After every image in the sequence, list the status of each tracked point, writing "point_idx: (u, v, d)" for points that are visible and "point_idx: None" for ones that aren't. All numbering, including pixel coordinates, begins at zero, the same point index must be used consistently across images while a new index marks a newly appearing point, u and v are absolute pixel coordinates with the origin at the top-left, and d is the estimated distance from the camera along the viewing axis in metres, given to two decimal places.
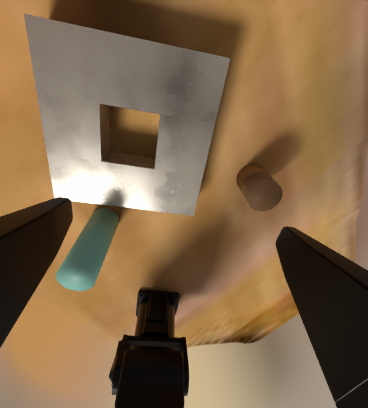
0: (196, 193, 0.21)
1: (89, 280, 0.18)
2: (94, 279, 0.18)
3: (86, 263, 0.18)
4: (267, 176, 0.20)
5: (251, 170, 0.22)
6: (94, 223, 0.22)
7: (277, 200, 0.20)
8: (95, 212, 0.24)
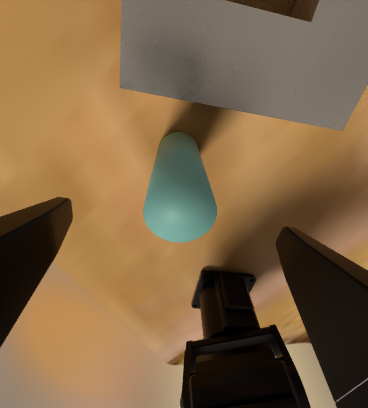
0: (364, 82, 0.12)
1: (205, 218, 0.09)
2: (215, 216, 0.09)
3: (203, 182, 0.09)
4: None
5: None
6: (178, 142, 0.13)
7: None
8: (168, 136, 0.16)
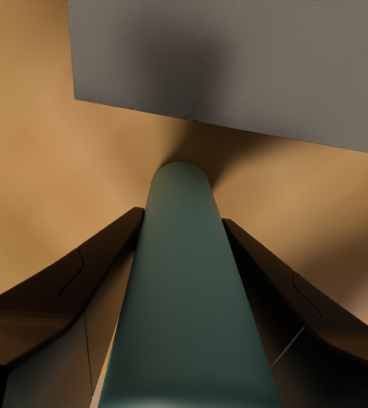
0: None
1: None
2: None
3: (247, 343, 0.04)
4: None
5: None
6: (182, 189, 0.08)
7: None
8: (165, 169, 0.10)
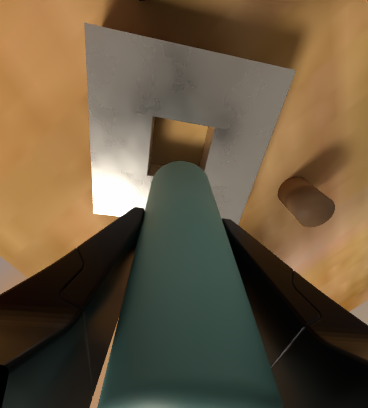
0: (241, 208, 0.20)
1: None
2: None
3: (248, 344, 0.04)
4: (318, 191, 0.19)
5: (297, 183, 0.21)
6: (182, 189, 0.08)
7: (328, 216, 0.19)
8: (165, 169, 0.10)
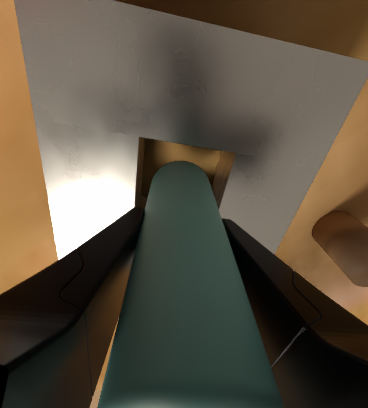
0: None
1: None
2: None
3: (248, 344, 0.04)
4: None
5: (344, 222, 0.15)
6: (182, 188, 0.08)
7: None
8: (165, 169, 0.10)
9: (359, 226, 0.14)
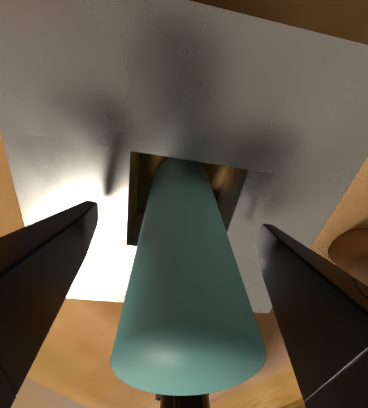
0: None
1: (240, 368, 0.05)
2: (259, 363, 0.05)
3: (237, 301, 0.04)
4: None
5: (367, 243, 0.13)
6: (182, 180, 0.09)
7: None
8: (166, 163, 0.11)
9: None
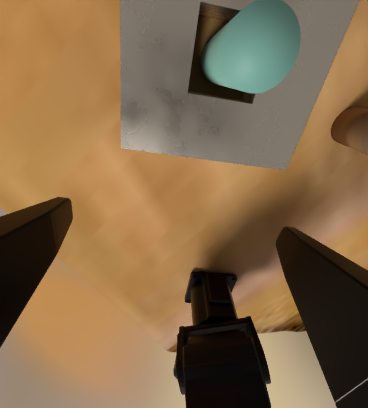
0: (296, 138, 0.17)
1: (286, 56, 0.09)
2: (296, 54, 0.09)
3: None
4: None
5: (360, 110, 0.17)
6: None
7: None
8: None
9: None
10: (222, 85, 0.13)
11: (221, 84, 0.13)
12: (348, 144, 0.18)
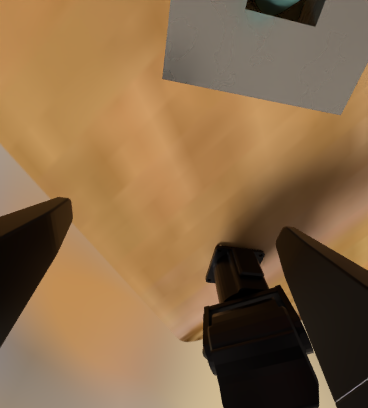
0: (357, 74, 0.15)
1: None
2: None
3: None
4: None
5: None
6: None
7: None
8: None
9: None
10: None
11: None
12: None
